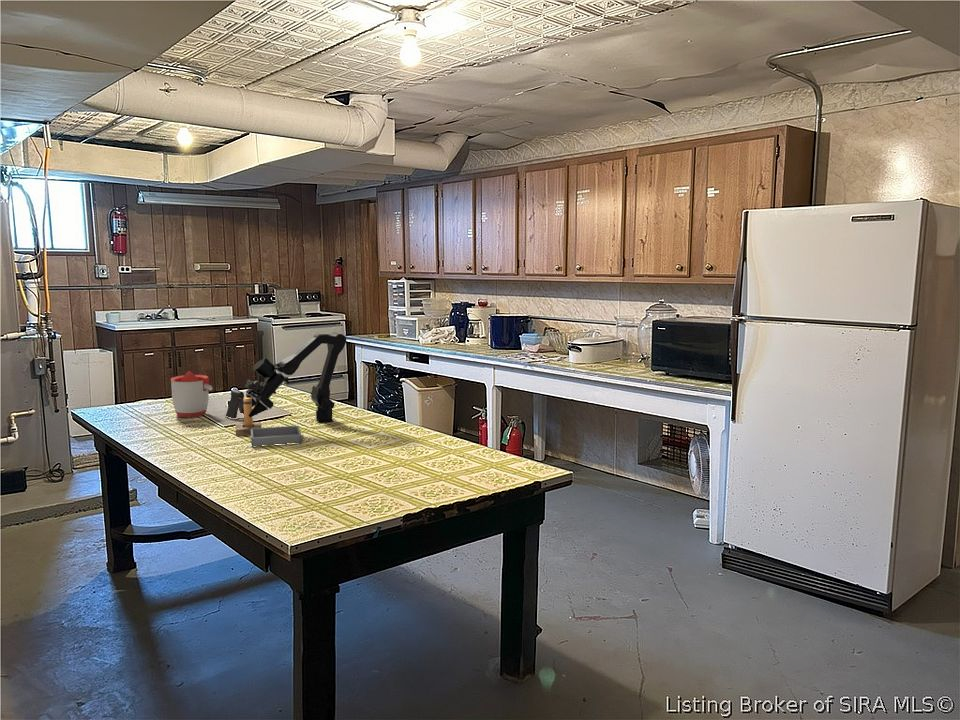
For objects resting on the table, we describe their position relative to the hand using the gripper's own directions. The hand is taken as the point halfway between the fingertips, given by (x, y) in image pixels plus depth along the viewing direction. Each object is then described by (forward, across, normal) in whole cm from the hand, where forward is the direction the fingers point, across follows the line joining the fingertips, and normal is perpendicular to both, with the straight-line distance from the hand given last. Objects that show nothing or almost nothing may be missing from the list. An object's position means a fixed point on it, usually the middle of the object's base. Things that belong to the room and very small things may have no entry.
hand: (245, 414), depth 282 cm
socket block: (+4, 0, +6) cm, 8 cm away
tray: (+1, +18, +10) cm, 21 cm away
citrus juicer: (+13, -40, -2) cm, 42 cm away
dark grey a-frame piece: (+2, -26, +9) cm, 28 cm away
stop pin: (+4, 0, +6) cm, 8 cm away
